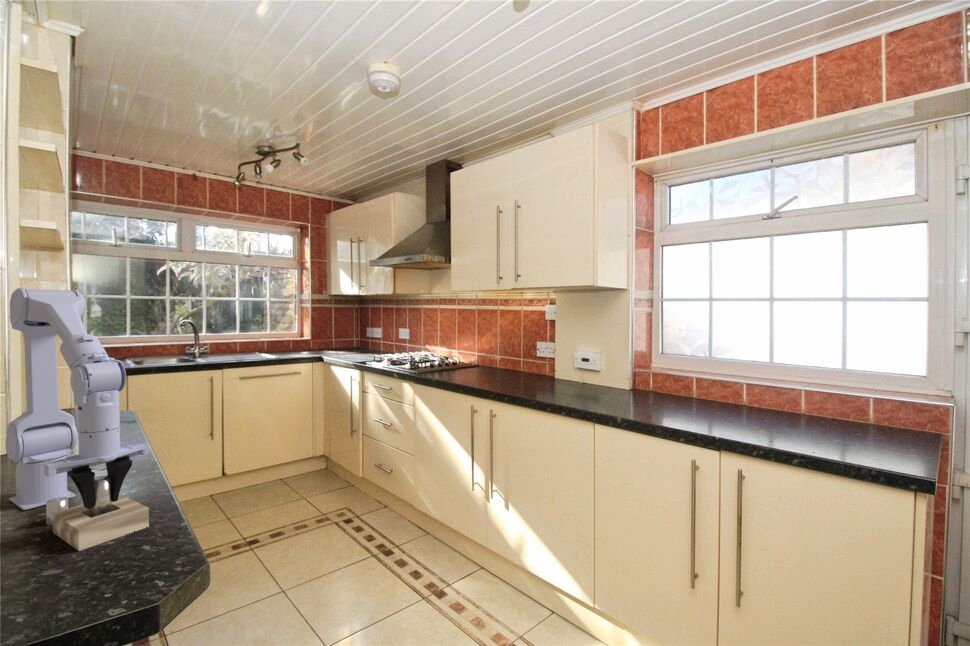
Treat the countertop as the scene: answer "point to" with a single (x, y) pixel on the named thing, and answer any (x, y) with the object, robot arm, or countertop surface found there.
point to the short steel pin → (55, 507)
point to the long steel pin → (102, 496)
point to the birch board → (99, 523)
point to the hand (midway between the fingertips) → (101, 503)
